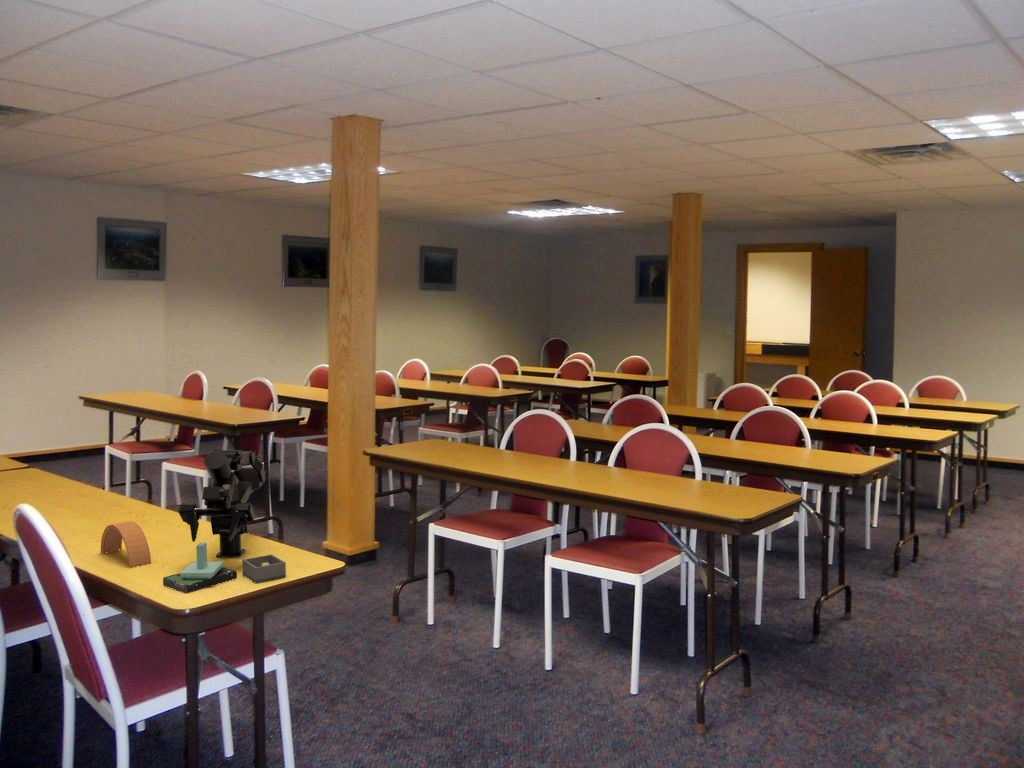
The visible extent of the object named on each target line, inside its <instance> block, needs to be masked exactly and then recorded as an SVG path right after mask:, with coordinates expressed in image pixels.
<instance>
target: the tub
mask: <svg viewBox="0 0 1024 768" xmlns="http://www.w3.org/2000/svg"><path fill="white" fill-rule="evenodd" d="M241 560H242V575H243V576H244V577H245V578H247V579H248V578H249V579H248V580H250V581H251V580H252V581H251V582H253V583H254V582H255V584H260V582H261V583H265V581H266V582H271V581H275V579H276V580H280V579H285V577H286V578H287V573H286V572H287V571H286V570H287V566H286V561H284V560H283V559H281V558H279V557H277V556H276V555H274V554H267V555H260V556H256V557H255V556H254V557H250V558H244V559H241ZM270 580H271V581H270Z"/></svg>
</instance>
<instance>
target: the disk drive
mask: <svg viewBox="0 0 1024 768" xmlns="http://www.w3.org/2000/svg"><path fill="white" fill-rule="evenodd" d="M180 573H181V572H179V573H174V574H171V575H168V576H164V577H163V578H162V584H163V585H164V587H166V586H167V587H166V588H168V587H170V588H169V589H171V588H173V589H172V590H174V589H176V590H175V591H177V590H178V591H177V592H180V591H181V593H183V592H184V593H183V594H186V593H187V594H189V593H193V592H197V591H200V590H203V588H204V589H207V588H209V587H213V586H212V585H214V586H217V585H219V584H218V583H220V584H223V583H222V582H224V583H226V582H225V581H227V582H230V581H229V580H231V581H233V580H232V579H234V580H237V579H236V578H238V574H237V573H238V572H237V570H235V569H231V568H229V567H226V566H223V567H222V568H221V569H220V570H219V571H218V572H217V573H216V574H215V575H214V576H213V577H212V578H211V579H185V577H180ZM216 584H217V585H216ZM163 585H162V586H163ZM206 587H207V588H206Z"/></svg>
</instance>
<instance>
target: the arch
mask: <svg viewBox="0 0 1024 768" xmlns="http://www.w3.org/2000/svg"><path fill="white" fill-rule="evenodd" d="M100 540H101V541H100V554H102V553H104V554H107V553H106V552H110V553H112V552H111V551H115V552H117V551H116V550H119V549H122V548H123V545H122V544H123V543H124V546H125V549H126V554H127V559H128V566H129V567H130V568H129V567H128V568H129V569H133V567H134V568H137V566H139V567H143V566H147V564H148V565H151V564H152V559H151V558H152V557H151V551H150V548H149V547H150V546H149V543H148V540H147V536H146V535H145V533H144V530H143V528H142V527H141V526H140V525H139V524H138V523H137V522H135V521H132V520H130V521H126V522H125V521H124V522H119V523H113V524H109V525H107V526H106V527H105V528H104V531H103V532H102V535H101V539H100ZM122 550H123V549H122ZM119 551H120V550H119ZM142 565H143V566H142Z"/></svg>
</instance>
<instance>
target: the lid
mask: <svg viewBox="0 0 1024 768" xmlns="http://www.w3.org/2000/svg"><path fill="white" fill-rule="evenodd" d="M207 544H208V543H207V542H205V541H204V542H199V543H197V545H196V547H195V548H196V549H195V550H196V562H195V561H194V562H193V561H192V562H191V563H190V564H189V565H188V566H186V567H185V568H184V569H183V570H181V572H179V573H180V577H185V579H211V578H212V577H213V576H214V575H215V574H216V573H217V572H218V571H219V570H220V569H221V568H222V567H225V565H224V563H225V562H224V561H208V548H207V546H208V545H207Z"/></svg>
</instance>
